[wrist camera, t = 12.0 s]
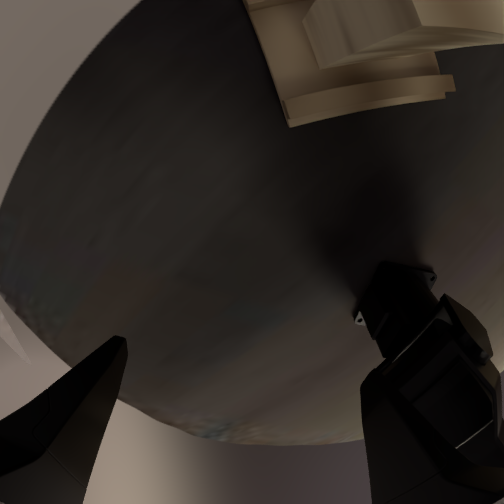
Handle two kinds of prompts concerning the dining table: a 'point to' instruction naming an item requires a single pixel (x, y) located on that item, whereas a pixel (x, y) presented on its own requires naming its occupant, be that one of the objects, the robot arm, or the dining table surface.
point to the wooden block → (398, 28)
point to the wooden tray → (335, 70)
